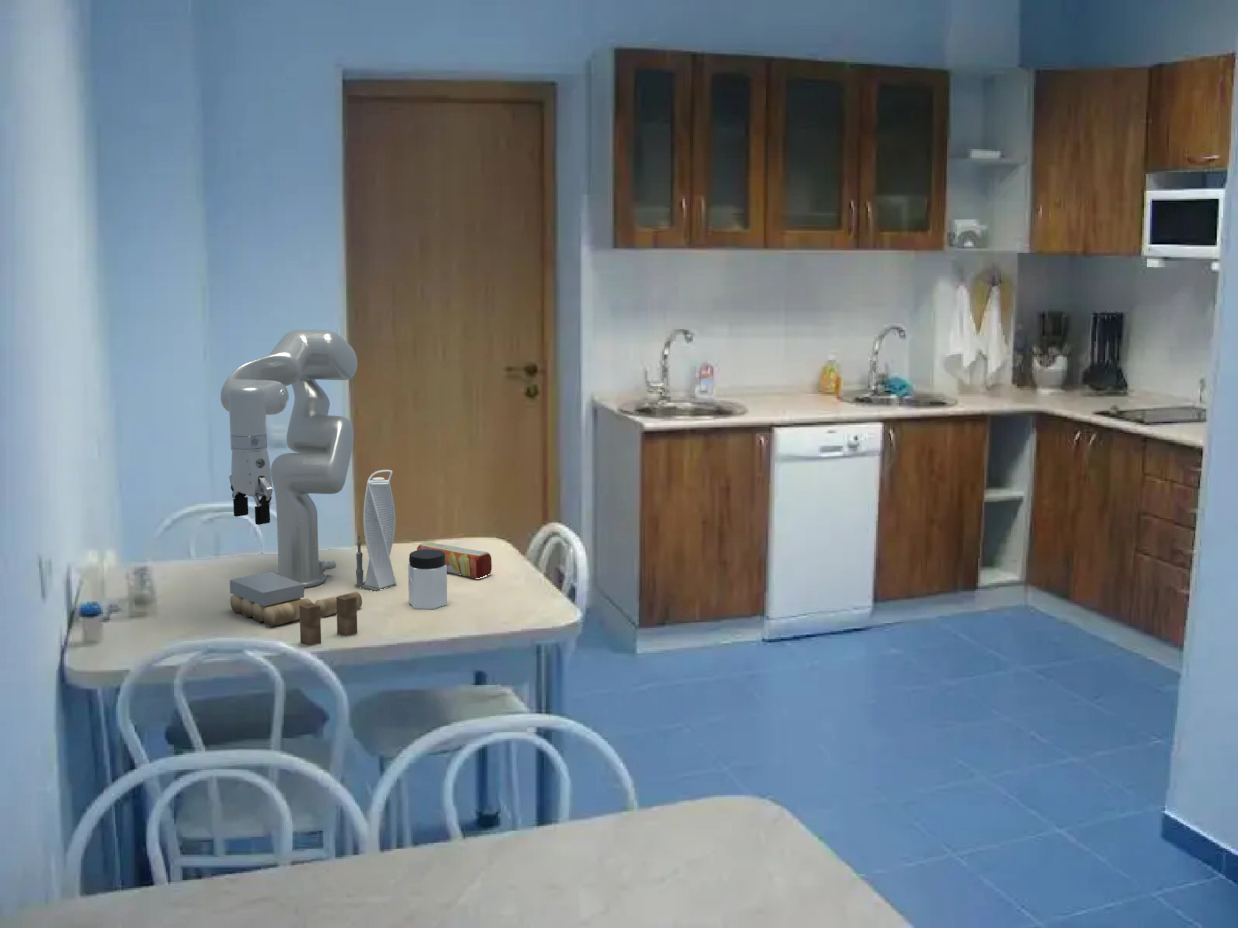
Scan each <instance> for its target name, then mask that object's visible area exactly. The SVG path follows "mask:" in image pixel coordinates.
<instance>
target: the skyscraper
mask: <svg viewBox="0 0 1238 928" xmlns="http://www.w3.org/2000/svg"><path fill="white" fill-rule="evenodd" d="M386 472H387V473H389V477H388V479H385V478H384V477H374V476H375V475H376V474H379V473H386ZM393 473H394V472H393V470H391V469H380V470H376V471H374V472H373V473H371V474H370V476H369V477H368V479H367V481H366V482H367V483H366V488H365V495H364V499H363V500H364V502H363V511H362V512H363V514H362V515H363V516H362V517H363V519H362V521H363V532H364V533H363V535H364V540H365V545H366V550H367V553H368V558H369V559H368V564H367V565H368V566H367V570H366V576H365V581H364V569H363V552H362V550H361V549H362V547H361V544H362V543H361V539H360V538H361V537H360V534H358V535H357V540H358V541H357V543H356V544H357V552H355V556H356V570H355V575H356V584H354V587H355V586H356V587H355V588H358V587H361V588H360V589H362V588H364V589H363V590H366V589H368V591H370V590H372V591H371V592H374V591H376V592H379V591H381V590H380V589H383V590H385V589H384V588H386V587H389V588H391V587H390V586H393V587H395V585H396V586H397V582H396V577H395V573H394V569H393V565H392V560H391V557H390V556H391V553H392V550H393V549H392V548H393V544H394V539H395V531H396V508H395V503H394V502H395V501H394V496H393V492H392V487H391V482H390V481H391V478H392V477H393ZM386 589H387V588H386ZM378 590H379V591H378Z"/></svg>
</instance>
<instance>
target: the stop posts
mask: <svg viewBox="0 0 1238 928" xmlns="http://www.w3.org/2000/svg"><path fill="white" fill-rule="evenodd" d="M346 594H347V595H344V594H341V595H342V596H340V595H337V596H338V597H336V603H337V614H336V632H337V633H336V634H338V635H340V636H344V637H348V636H352V635H356V634H358V609H357V597H355V596H352V595H349V594H348V593H346ZM299 607H300V620H299V632H300V643H301V644H303V645H305V646H308V647H310V646H314V645H318V644H321V643H322V629H321V627H322V626H321V623H322V622H321V617H320V605H317V604H315V603H314V602H312V603H308V604H304V605H299Z"/></svg>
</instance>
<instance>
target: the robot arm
mask: <svg viewBox="0 0 1238 928" xmlns="http://www.w3.org/2000/svg"><path fill="white" fill-rule="evenodd" d="M357 369H358V357H357V354H356V352H355V350H354V347H352V346H351V345H350V344H349V342H347V340H345V339H344V338H343V337H342V336H341V335H339V334H338V333H336V332H334V331H331V330H325V329H324V330H323V329H320V330H319V329H317V330H316V329H295V330H291V331H288V332H287V333H285V334H284V335H283V336H282V338H281V339H280V340H279V341H278V343H277V344H276V345H275V346H274V348H273V349H272V350H271V352H270V353H269V354H267V355H265V356H261V357H259V358H256V359H255V360H251V361H250V362H246V363H245V364H241V365H240V366H238V367H236V369H234V370H232V372H231V373H230V375H229V376H228V377H227V378H226V380H225V382H223V385H222V387H221V391H220V402H221V405H222V407H223V408H224V409H225V410H226V411H227V412H229V433H230V439H229V440H230V451H231V470H230V472H231V474H230V475H229V477H228V478H229V482H230V489H231V491H232V492H231V497H232V502H233V517H243V516H248V515H249V498H248V496H249V497H253V500H254V502H255V505H256V506H255V505H254V519H255V520H254V521H255V522H254V523H255V525H259V526H260V525H265V524H270V523H271V509H270V508H271V507H270V506H271V501H272V499H273V497H272V495H273V490H274V496H275V497H274V498H275V508H276V509H275V510H276V531H277V533H276V534H277V535H276V537H277V559H278V560H277V562H278V566H277V567H278V573H276V574H277V575H280V576H283V577H285V578H288V579H291V580H294V581H297V582H299V583H302V584H304V589H305V588H310V587H311V588H312V587H316V586H319V585H322V584H323V583H325V582H326V577H327V576H326V574H325V573H324V572H326V570H332V569H336V568H337V563H336V561H335V560H330V561H325V560H320V557H319V556H320V555H319V530H318V529H319V525H318V523H319V522H318V521H319V520H318V509H317V506H316V504H315V502H314V500H313V499H312V497H311V496H310V495H309V494H311V495H312V494H316V495H317V494H318V495H320V494H321V495H334V494H335V495H336V494H338V493H340V492H342V490H343V488H344V486H345V483H346V479H347V476H348V471H349V465H350V460H351V458H352V457H351V456H352V452H353V451H352V450H353V447H354V440H355V439H354V437H355V436H354V434H355V433H354V426H353V424H352V422H351V421H350V419H348V418H347V417H345V416H341V415H329V411H330V403H331V402H330V398H329V397H328V394H327V393H326V392H325V390H324V388H322V386H321V385H319V383H318V382H317V381H316V380H320V381H321V380H322V381H325V380H326V381H347V380H350V379H352V378H353V377H354V376H355V374H356V372H357ZM290 385H291V386H292V391H293V394H294V401H293V405H292V410H291V415H290V417H289V418H290V419H289V423H288V426H287V431H286V445H287V446H288V448H289V449H290V450H291V451H293V452H287V453H282V454H280V455H277V457H275V458H274V460H273V461H272V464H270V457H269V453H268V436H267V416H268V415H269V416H271V415H273V416H274V415H277V414H280V413H282V412H283V411H284V410H285V409H286V407H287V406H288V403H289V400H290V399H289V398H290V397H289V390H288V388H287V386H290Z"/></svg>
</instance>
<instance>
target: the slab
mask: <svg viewBox="0 0 1238 928" xmlns="http://www.w3.org/2000/svg"><path fill="white" fill-rule="evenodd" d="M277 574H278V573H274V572H272V571H266V572H262V573H256V574H253V575H247V576H242V577H238V578H232V579H229V593H230V594H232V595H237V596H239V597H242V598H244V599H247V600H249V601H252V602H254V603H257V604H259V605H262V606H268V605H272V604H276V603H281V602H285V601H289V600H294V599H298V598H300V599H301V598H302V599H304V597H305V588H304V584H302V583H299V582H297V581H294V580H291V579H288V578H285V577H283V576H280V575H277Z"/></svg>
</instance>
